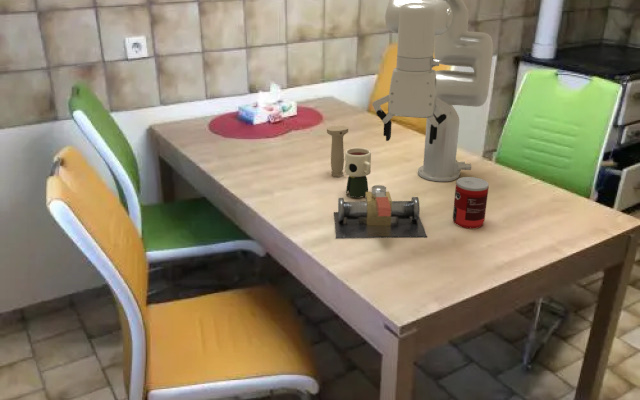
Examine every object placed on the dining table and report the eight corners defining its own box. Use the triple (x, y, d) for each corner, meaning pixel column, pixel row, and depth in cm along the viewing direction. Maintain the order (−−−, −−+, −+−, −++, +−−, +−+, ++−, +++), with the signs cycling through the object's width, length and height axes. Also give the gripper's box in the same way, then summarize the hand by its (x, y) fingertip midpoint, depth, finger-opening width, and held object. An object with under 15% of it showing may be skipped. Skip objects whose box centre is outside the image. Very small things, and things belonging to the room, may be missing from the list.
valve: (417, 212, 155) (418, 188, 153) (426, 237, 143) (428, 211, 140) (333, 213, 155) (334, 189, 152) (336, 238, 142) (336, 212, 140)
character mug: (335, 191, 169) (336, 148, 163) (356, 186, 172) (356, 143, 167) (358, 204, 160) (359, 159, 155) (379, 198, 164) (380, 154, 158)
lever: (370, 192, 149) (371, 183, 148) (384, 192, 149) (385, 183, 148) (376, 217, 136) (376, 207, 135) (392, 216, 136) (392, 207, 135)
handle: (350, 176, 179) (350, 129, 173) (330, 179, 177) (331, 131, 171) (343, 171, 183) (343, 124, 177) (324, 174, 181) (324, 127, 175)
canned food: (460, 213, 155) (464, 174, 151) (489, 221, 151) (494, 181, 146) (446, 223, 150) (450, 183, 145) (475, 232, 145) (480, 191, 141)
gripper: (456, 62, 127) (449, 138, 134) (377, 59, 131) (374, 133, 138) (455, 69, 120) (447, 149, 127) (371, 65, 124) (368, 143, 131)
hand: (409, 140), depth 132 cm, fingers open, 9 cm apart
